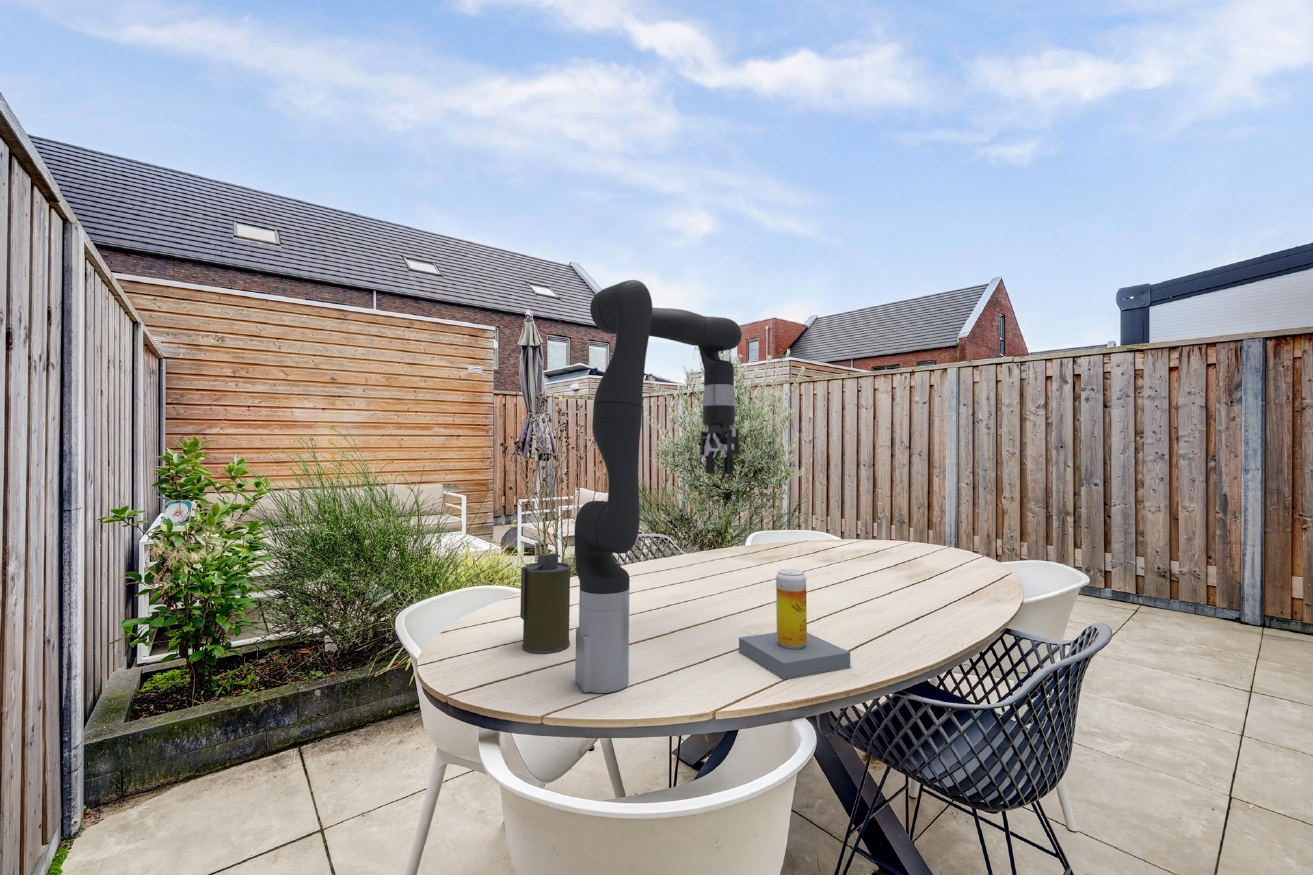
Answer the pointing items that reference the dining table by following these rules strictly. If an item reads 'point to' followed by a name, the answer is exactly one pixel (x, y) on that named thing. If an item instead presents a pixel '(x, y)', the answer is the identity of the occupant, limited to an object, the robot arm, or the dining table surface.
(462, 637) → the dining table surface
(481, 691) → the dining table surface
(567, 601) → the canister
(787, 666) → the stand
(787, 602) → the beer can
